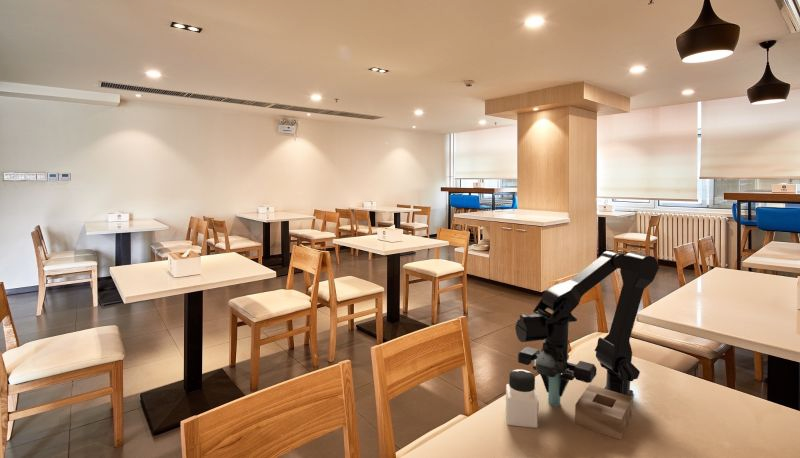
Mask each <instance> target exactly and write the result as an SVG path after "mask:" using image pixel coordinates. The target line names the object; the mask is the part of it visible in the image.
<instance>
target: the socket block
mask: <svg viewBox="0 0 800 458" xmlns="http://www.w3.org/2000/svg"><path fill="white" fill-rule="evenodd" d="M604 388H605V387H604ZM604 388H603V387H601V386H596V385H593V384H591V383H588V386H587V387H586V388H585V390H584V391H583V393H582V394H581V396H580V397H579V399H578V400H577V401H576V403H575V406H574V424H575V425H578V426H581V427H584V428H586V429H590V430H592V431H594V432H596V433H600V434H603V435H605V436H608V437H611V438H614V439H617V440H620V441H621V440H622V437H623V434H624V433H625V430H626V428H627V426H628V425H629V421H630V419H631V417H632V411H633V410H632V409H633V408H632V407H633V396H628V395H624V394H621V393H617V392H614V391H611V390H607V389H604Z"/></svg>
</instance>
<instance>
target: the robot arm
mask: <svg viewBox="0 0 800 458" xmlns="http://www.w3.org/2000/svg"><path fill="white" fill-rule="evenodd" d="M659 265H660V264H659V262H658V259H656V258H655V257H654V256H653V255H648V254H645V253H641V252H640V253H639V252H637V251H630V252H627V253H626V254H624V253H620V252H614V251H611V250H607V251H604V252H602V253H601V255H600V256H599V257H598V258H596V259H595V260H594V261H592V263H590V264H589V265H588V266H586V267H584V269H582V270H580V272H578V273H577V274H575V275H574V276H573V277H571V279H568V280H567V281H565V282H562V283H561V282H560V283H556V284H555V285H553V286H551V287H549V288H547V289H546V290H544V292H543V294H542V298H541V299H540V300H539V301H538V303H537V304H536V306H535V307H534V309H533V311H532V313H533V314H525V313H523V314H520V315H519V319H517V321H516V323H515V326H514V327H515V328H514V329H515V334H516V338H517V339H518V341H520V342H521V343H528V342H538V341H543V342H542V348H541V351H540V350H539V349H537V348H533V347H530V346H526V347H524V348H523V349H522V350H520V351H519V352H518V353H517V362H518V363H519V364H522V365H525V366H529V365H530V364H532V362H533V366H532V369H533V370H534V371H536V373H538V374H539V375H540V377H541V379H542V382H543V385H544V389H545V392H546V393H548V394H549V377H555V376H556V375H557V374H559V373H561V376H560V378H561V384H560V391H559V394H560V397H561V398H562V396H563V395H564V392H565V391H566V388H567V386H568V384H569V381H573V380H574V379H575V380H576V381H580V382H583V383H587V384H591V383H592V381H593V380H594V379H595V378H596V377H597V367H596V365H595V364H594V363H590V362H587V361H584V360H579V361H578V362H577V363H575V362H569V361H568V360H569V358H570V355H569V354H568V353H569V345H570V339H569V334H570V333H569V329H570V323H572V322H573V323H574V322H577V321H578V319H577V318H576V317H575V316H574V315H573V311H574V310H575V309H576V308H577V307H578V306H579V305H580V302H581V299H582V298H583V296H584V295H585V294H587V293H588V292H589V291H590V290H592V289H593V288H594V287H596V286H597V285H598V284H600V283H601V282H603V280H604V279H606V278H607V277H609V276H610V275H612V273H614V272H615V271H616V270H618V269H619V270H620V271H619V272H620V277H621V280H622V285H621V291H620V294H619V297H618V302H617V304H616V307H615V311H614V315H613V319H612V323H611V325H610V329H609V333H608V334H607V335H606V336H604V338H603V337H599V338H598V340H597V343H596V347H595V349H594V351H595V358H596V359H597V361H598V362H599V364H600V367H601V368H603V369H605V370H606V382H605V387H604V389H607V390H611V391H614V392H617V393H621V394H624V395H628V396H631V397H633V394H634V391H633V390H632V389H631V382H633V381H634V380H638V378H639V376H640V373H641V371H640V370H639V369H638V368H637V367H636V366H635V365H634V363H632V360H633V359H632V358H633V350H632V346H631V342H630V339H631V335H632V332H633V328H634V325H635V321H636V318H637V314H638V311H639V307H640V304H641V301H642V297H643V293H644V290H645V289H646V288H647V287H648V286H649V285H650V284H652V283H653V282H654V280H655V278H656V275H657V273H658V271H659V268H660V266H659ZM549 311H551V312H552V313H551V312H549Z"/></svg>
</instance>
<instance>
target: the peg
mask: <svg viewBox="0 0 800 458" xmlns="http://www.w3.org/2000/svg"><path fill="white" fill-rule="evenodd" d="M561 375H562V373H559V374H557V375H556V376H555V377H549V393H548V395H547V396H548V400H547V402H548V404H549V405H551V406H554V407H559V406H561V398H562V396H561V397H560V394H559V391H560V384H561V378H560V376H561Z"/></svg>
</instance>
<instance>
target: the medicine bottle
mask: <svg viewBox="0 0 800 458" xmlns="http://www.w3.org/2000/svg"><path fill="white" fill-rule="evenodd" d="M508 378H509V382H508V383H507V384H506V385H505V413H506V424H507V425H508V426H514V427H523V428H532V429H533V428H534V429H537V428H539V402H540V401H539V398H538V394H537V390H536V387H535V386H536V377H535V375H534V373H532V372H531V371H528V370H526V369H514V370H512V371H510V373H509V377H508Z"/></svg>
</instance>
